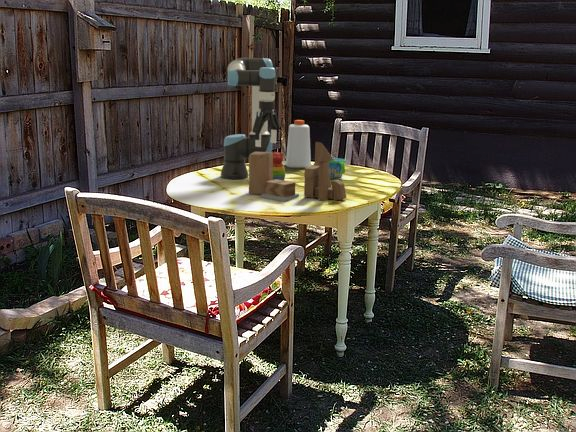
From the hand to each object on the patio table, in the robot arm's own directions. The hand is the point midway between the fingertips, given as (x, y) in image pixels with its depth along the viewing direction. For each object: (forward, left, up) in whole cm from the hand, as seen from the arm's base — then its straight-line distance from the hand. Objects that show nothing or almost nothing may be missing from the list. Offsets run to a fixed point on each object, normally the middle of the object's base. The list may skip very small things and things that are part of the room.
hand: (266, 144), depth 324 cm
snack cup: (+5, +62, -25) cm, 67 cm away
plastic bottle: (-31, +80, -25) cm, 89 cm away
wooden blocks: (+28, +13, -25) cm, 40 cm away
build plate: (+10, -2, -24) cm, 26 cm away
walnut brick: (+10, -2, -23) cm, 25 cm away
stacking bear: (-7, +20, -25) cm, 32 cm away
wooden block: (-3, 0, -25) cm, 25 cm away
